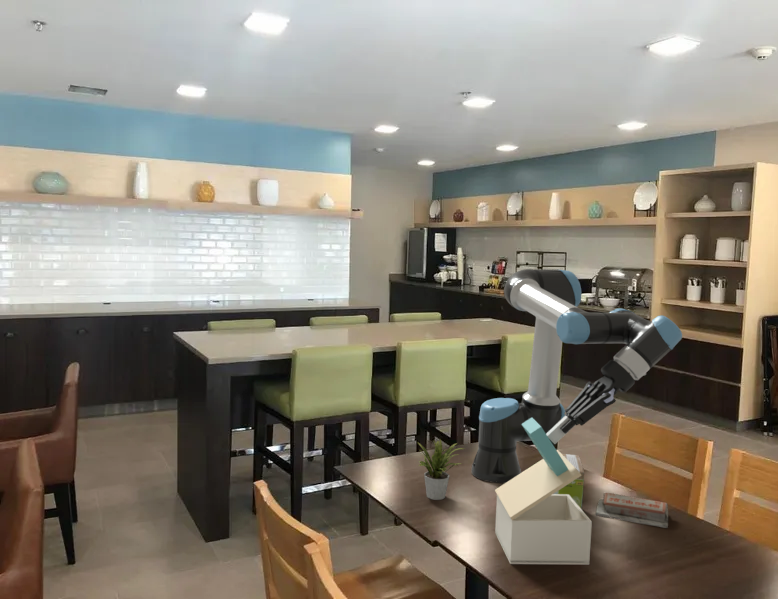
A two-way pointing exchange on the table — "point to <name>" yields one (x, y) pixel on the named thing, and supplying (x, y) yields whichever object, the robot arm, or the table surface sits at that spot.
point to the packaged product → (633, 509)
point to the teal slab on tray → (537, 475)
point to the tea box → (577, 485)
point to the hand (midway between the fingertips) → (550, 439)
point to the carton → (546, 533)
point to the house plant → (437, 471)
